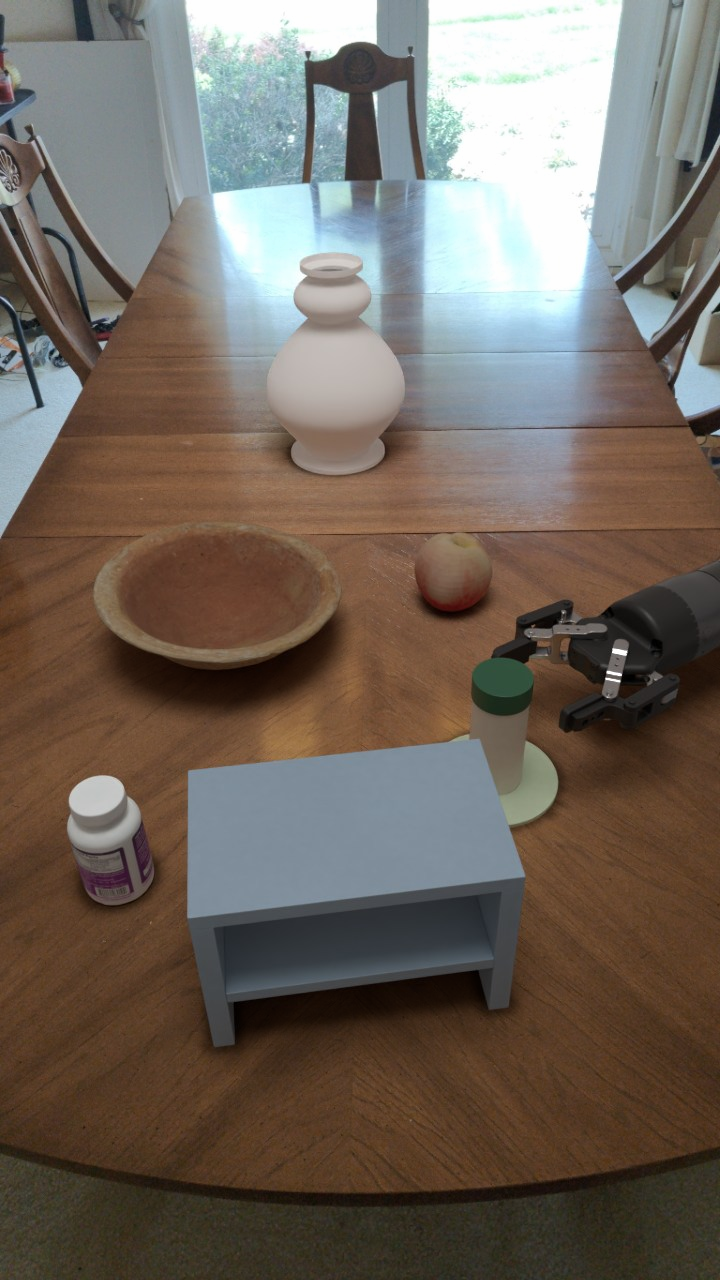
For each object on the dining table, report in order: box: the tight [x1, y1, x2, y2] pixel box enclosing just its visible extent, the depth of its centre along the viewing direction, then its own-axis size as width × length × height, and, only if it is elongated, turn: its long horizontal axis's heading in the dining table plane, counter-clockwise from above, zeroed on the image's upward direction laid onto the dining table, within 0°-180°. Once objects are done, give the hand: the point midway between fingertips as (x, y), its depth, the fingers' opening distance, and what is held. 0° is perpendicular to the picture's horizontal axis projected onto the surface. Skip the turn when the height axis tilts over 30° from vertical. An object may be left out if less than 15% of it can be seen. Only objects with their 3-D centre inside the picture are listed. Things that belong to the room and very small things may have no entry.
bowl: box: [92, 521, 343, 671], centre depth 97 cm, size 24×24×8 cm
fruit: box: [414, 531, 493, 613], centre depth 102 cm, size 8×8×8 cm
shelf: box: [186, 739, 527, 1048], centre depth 66 cm, size 12×20×14 cm, turn 98°
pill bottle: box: [66, 774, 155, 906], centre depth 73 cm, size 5×5×10 cm
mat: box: [448, 733, 559, 829], centre depth 84 cm, size 11×11×1 cm
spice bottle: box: [468, 658, 535, 795], centre depth 80 cm, size 5×5×11 cm
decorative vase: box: [265, 251, 406, 476], centre depth 124 cm, size 18×18×25 cm
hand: (526, 692), depth 80 cm, fingers open, 8 cm apart
